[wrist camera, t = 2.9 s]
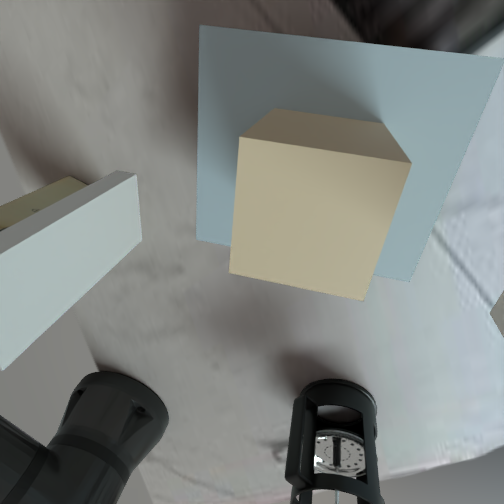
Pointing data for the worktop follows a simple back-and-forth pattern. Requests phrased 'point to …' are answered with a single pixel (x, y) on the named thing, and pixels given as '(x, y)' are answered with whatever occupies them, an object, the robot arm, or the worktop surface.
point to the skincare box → (37, 200)
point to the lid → (329, 153)
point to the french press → (333, 444)
